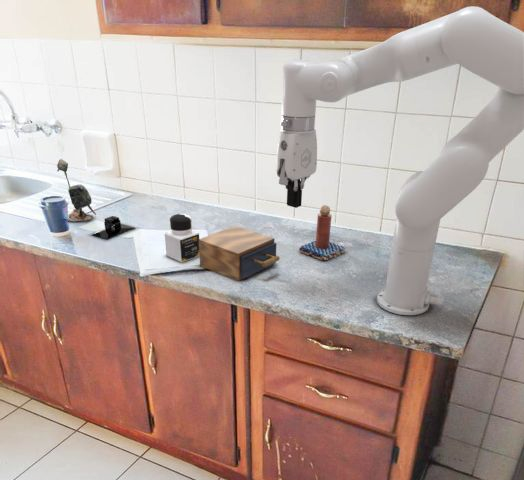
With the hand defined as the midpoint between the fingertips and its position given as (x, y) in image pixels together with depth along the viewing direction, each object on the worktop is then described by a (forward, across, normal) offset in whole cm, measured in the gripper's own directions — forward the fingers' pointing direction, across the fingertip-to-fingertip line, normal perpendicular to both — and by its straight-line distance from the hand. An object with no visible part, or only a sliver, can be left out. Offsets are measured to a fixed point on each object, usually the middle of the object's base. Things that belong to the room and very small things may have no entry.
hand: (293, 205), depth 124 cm
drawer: (+20, 0, +15) cm, 25 cm away
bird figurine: (+21, -8, +84) cm, 87 cm away
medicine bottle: (+21, -6, +35) cm, 41 cm away
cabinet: (+21, 0, +19) cm, 28 cm away
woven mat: (+21, +24, +6) cm, 33 cm away
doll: (+19, +24, +7) cm, 31 cm away
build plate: (+21, -8, +66) cm, 70 cm away
